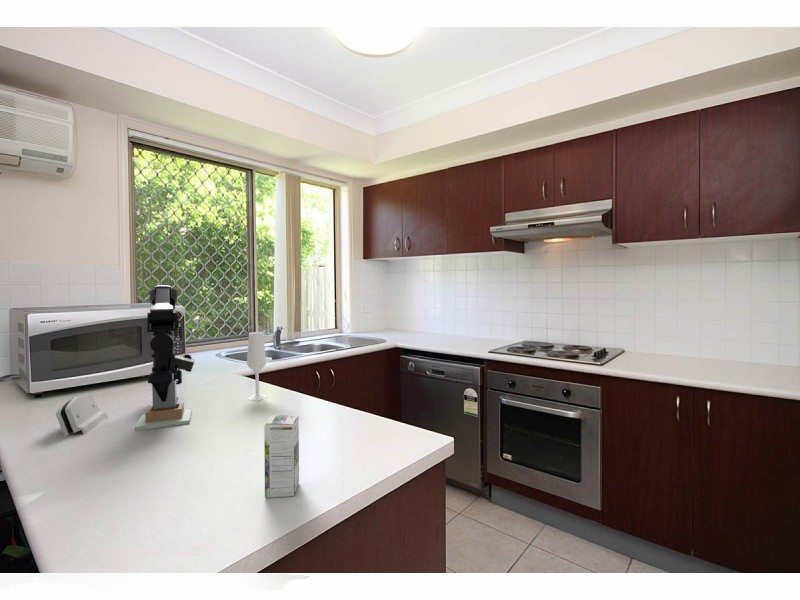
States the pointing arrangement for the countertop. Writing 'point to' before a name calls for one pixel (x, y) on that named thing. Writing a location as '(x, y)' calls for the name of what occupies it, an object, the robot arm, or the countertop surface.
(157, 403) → the brushed grey metal block
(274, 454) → the syrup box
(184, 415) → the post socket
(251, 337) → the champagne flute
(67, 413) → the hinge
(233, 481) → the countertop surface
